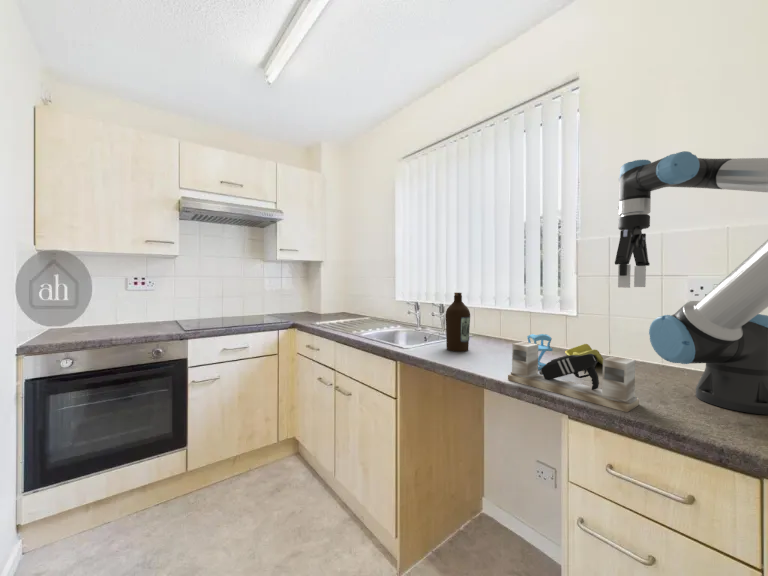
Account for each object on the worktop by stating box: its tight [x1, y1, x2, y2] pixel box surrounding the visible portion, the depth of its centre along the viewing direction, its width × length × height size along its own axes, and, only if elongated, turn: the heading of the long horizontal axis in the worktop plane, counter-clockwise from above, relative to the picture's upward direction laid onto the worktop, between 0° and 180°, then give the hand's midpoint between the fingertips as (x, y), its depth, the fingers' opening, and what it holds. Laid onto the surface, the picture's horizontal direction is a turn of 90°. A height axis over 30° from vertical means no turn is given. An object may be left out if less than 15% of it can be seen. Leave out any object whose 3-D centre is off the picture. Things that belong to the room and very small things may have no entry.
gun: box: [538, 354, 600, 390], centre depth 92 cm, size 3×16×10 cm, turn 37°
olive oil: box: [445, 292, 471, 353], centre depth 146 cm, size 11×11×25 cm
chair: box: [526, 333, 554, 371], centre depth 118 cm, size 8×8×12 cm
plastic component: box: [564, 343, 604, 365], centre depth 123 cm, size 20×7×10 cm
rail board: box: [507, 341, 640, 413], centre depth 92 cm, size 31×8×11 cm, turn 37°
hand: (632, 287), depth 99 cm, fingers open, 13 cm apart
